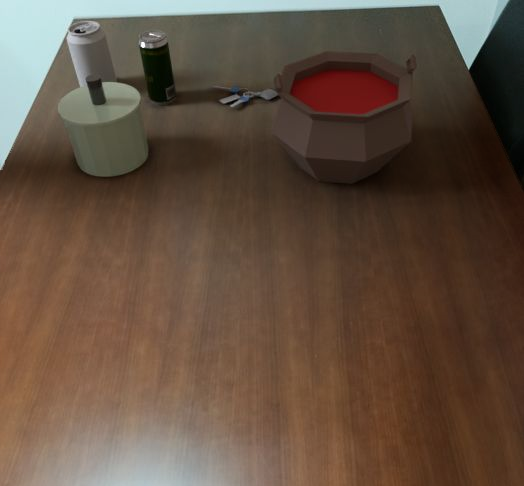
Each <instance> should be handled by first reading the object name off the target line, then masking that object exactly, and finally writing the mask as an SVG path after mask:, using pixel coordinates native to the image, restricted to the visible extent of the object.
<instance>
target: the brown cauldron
mask: <svg viewBox="0 0 524 486" xmlns="http://www.w3.org/2000/svg"><path fill="white" fill-rule="evenodd" d="M417 64H418V63H417V59H416V56H415V55H414V54H412V55H410V57H409V58H408V59H407V60H406V61H405V65H406V67H404V66H402V65H401V64H399V63H397V62H394V60H393V61H392V60H390V59H388V58H387V57H385V56H383V55H382V54H379V53H375V52H374V53H373V52H358V51H357V52H355V51H354V52H353V51H332V50H325V51H322V52H319V53H316V54H314V55H311V56H308V57H305V58H302V59H299V60H296V61H294V62H292V63H289V64H286V65H284V66H283V69H282V73H281V74H280V73H276V75H274V78H273V85H274V91H276V92H277V93H278V96H279V97H280V98H281V99H280V102H279V104H278V106H277V107H278V108H277V110H276V114H275V116H274V119H273V122H272V126H271V128H270V134H271V135H272V136H273V137H274V138H275V139H276V141H277V142H278V143H279V144H280V145H281V147H282V148H283V149H284V150H285V152H287V154H288V155H289V156H290V157H291V158H292V160H293V161H294V162H295V163H296V165H297V166H298V167H299V168H300V169H302V170H303V171H305V173H307V174H309V175H310V176H311V177H313V178H314V179H315V180H317V181H318V182H324V183H336V184H351V185H352V184H355V183H357V182H359V181H361V180H363V179H365V178H368V177H370V176H372V175H374V174H376V173H378V172H379V171H380V170H381V169H382V168H383V167H384V166H386V165H387V164H388V163H389V162H390V161H392V159H393V158H394V157H395V156H396V155H398V154H399V153H400V152H401V151H402V150H404V148H405V147H407V146H408V144H410V143H411V142H412V131H413V130H412V127H413V107H412V105H411V100H412V99H413V98H412V96H413V77H414V75H413V74H414V71H416V70H417V68H418V65H417Z"/></svg>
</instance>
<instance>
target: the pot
mask: <svg viewBox="0 0 524 486" xmlns="http://www.w3.org/2000/svg"><path fill="white" fill-rule="evenodd" d="M63 122H64V126H65V130H66V132H67V135H68V139H69V141H70V144H71V147H72V151H73V154H74V157H75V160H76V163H77V166H78V167H79V169H80V170H81V171H83V172H84V173H85V174H88V175H90V176H94V177H101V178H102V177H104V178H107V177H117V176H121V175H125V174H128V173H131V172H133V171H135V170H137V169H139V167H141V166H142V165H143V164H145V162H146V161H147V159H148V157H149V150H150V149H149V144H148V140H147V135H146V129H145V125H144V120H143V115H142V111H141V105H140V106H139V108H138V109H137V110H136V111H135V112H134V113H133V114H131V115H130V116H128V117H127V118H125V119H123V120H120V121H118V122H115V123H111V124H107V125H101V126H79V125H74V124H71V123H68V122H66V121H65V120H63Z"/></svg>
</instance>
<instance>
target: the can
mask: <svg viewBox="0 0 524 486" xmlns="http://www.w3.org/2000/svg"><path fill="white" fill-rule="evenodd" d="M65 38H66V42H67V46H68V49H69V50H68V51H69V54H70V56H71V60H72V64H73V67H74V70H75V74H76V78H77V81H78V84H79V88H80V87H83V86H86V85H87V83H86V80H85V79H86V77H87V76H89V75H93V74H97V75H99V76H100V77H101V81H102V82H117V83H118V81H117V76H116V72H115V69H114V64H113V60H112V56H111V52H110V47H109V42H108V38H107V34H106V31H105V30H104V29H103V28H101V24H100V23H99V22H97V21H94V20H82V21H78V22H75V23H72V24H71V25H69V26H68V27H67V35H66V37H65Z"/></svg>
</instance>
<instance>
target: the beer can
mask: <svg viewBox="0 0 524 486" xmlns="http://www.w3.org/2000/svg"><path fill="white" fill-rule="evenodd" d="M169 45H170V44H169V40H168V37H167V35H166V33H165V32H164V31H162V30H157V29H155V30H147V31H144V32H141V33H140V34H139V35H138V49H139V53H140V58H141V64H142V68H143V73H144V78H145V84H146V89H147V94H148V99H149V100H150V102H151V103H152V104H153V105H155V106H167V105H170V104H172V103H174V101H175V100H176V97H177V91H176V85H175V80H174V72H173V66H172V65H173V64H172V59H171V52H170V46H169Z"/></svg>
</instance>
